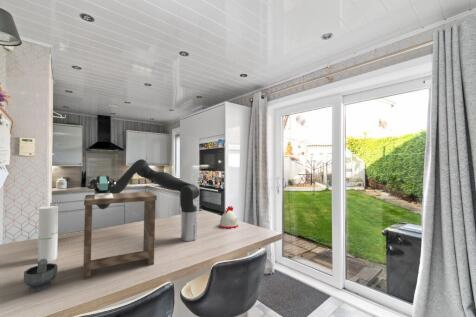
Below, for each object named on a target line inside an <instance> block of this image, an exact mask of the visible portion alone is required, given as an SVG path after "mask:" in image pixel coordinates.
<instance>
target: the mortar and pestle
mask: <svg viewBox="0 0 476 317" xmlns="http://www.w3.org/2000/svg"><path fill="white" fill-rule="evenodd" d="M57 273H58V265H57V263H50V262H48V261H47V259H41V260H39V261H38V260H37V265H35V266H31V267H30V268H28V269H26V270H25V271H23V280H24V284H26V286H28V287H29V292H30V293H38V292H42V291H45V290H48V289H49V288H50V287H51V286H52V281H53V280H54V279H55V278H56V276H57Z"/></svg>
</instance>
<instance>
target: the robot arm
mask: <svg viewBox="0 0 476 317" xmlns="http://www.w3.org/2000/svg"><path fill="white" fill-rule="evenodd" d="M136 174H137V176H139V177H141V178H144V179H146V180H150V181H151V182H153V183H155V184H157V185H159V186H161V187H163V188H164V189H168V190H172V191H176V192H179V205H180V209H181V212H180V213H181V217H180V220H181V221H180V240H181V241H184V242H190V241H196V239H197V234H198V232H197V231H198V230H197V229H198V222H197V213H198V212H197V205H195V204H194V200H195V199H197V198H199V195H200V194H201V193H200V189H199V187H198V186H197V185H195V184H193V183H188V182H186V181H184V180H181V179H180V178H178V177H175V175H172V174H170V173H168V172H165V171H156V170H154V169H152V168H151V167H150V166H149V164H148V162H147V161H146V159H137V160H136V161H134V163H133V164H131V166H130V167H129V168H128V169H127V170H126V171H125V172H124V173H123V175H122V176H121V177H120V178H118V179H117V180H114V179H113V178H110V176H109V175H106V176H105V177H106V178H107V182H108V190H100V184H99V182H100V177H101V175H97V176H96V178H93V179H91V180H90V181H89V182H88V184H87V187H88V189H90V188H93V189H94V191H93V193H94V195H95V194H103V193H112V194H116V193H123V191H124V190H125V189H126V188H127V186H128V184H129V182H130V181H131V179H132V177H134V175H136ZM110 205H111V204H99V205H96V207H98V208H99V209H100V210H106V209H107V208H108V207H110Z"/></svg>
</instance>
